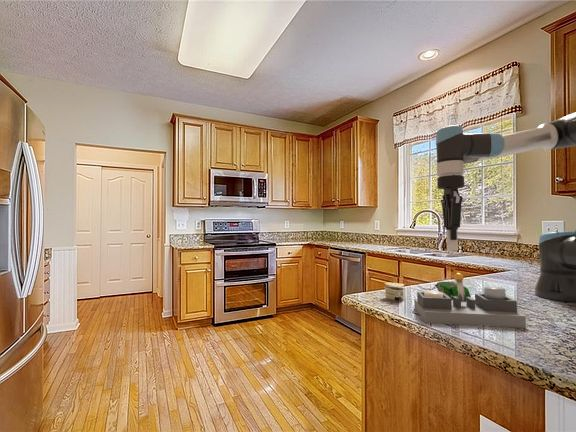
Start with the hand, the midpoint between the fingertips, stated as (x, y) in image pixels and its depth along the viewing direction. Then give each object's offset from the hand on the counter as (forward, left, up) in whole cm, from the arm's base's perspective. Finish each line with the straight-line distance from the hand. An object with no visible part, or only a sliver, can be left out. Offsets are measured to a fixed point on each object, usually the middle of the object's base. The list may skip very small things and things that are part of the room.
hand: (452, 250), depth 94 cm
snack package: (-4, -16, -19) cm, 25 cm away
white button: (+8, +8, -15) cm, 19 cm away
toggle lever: (0, +8, -14) cm, 16 cm away
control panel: (0, +8, -18) cm, 20 cm away
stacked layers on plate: (+16, -10, -19) cm, 27 cm away
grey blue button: (-8, +8, -13) cm, 17 cm away
